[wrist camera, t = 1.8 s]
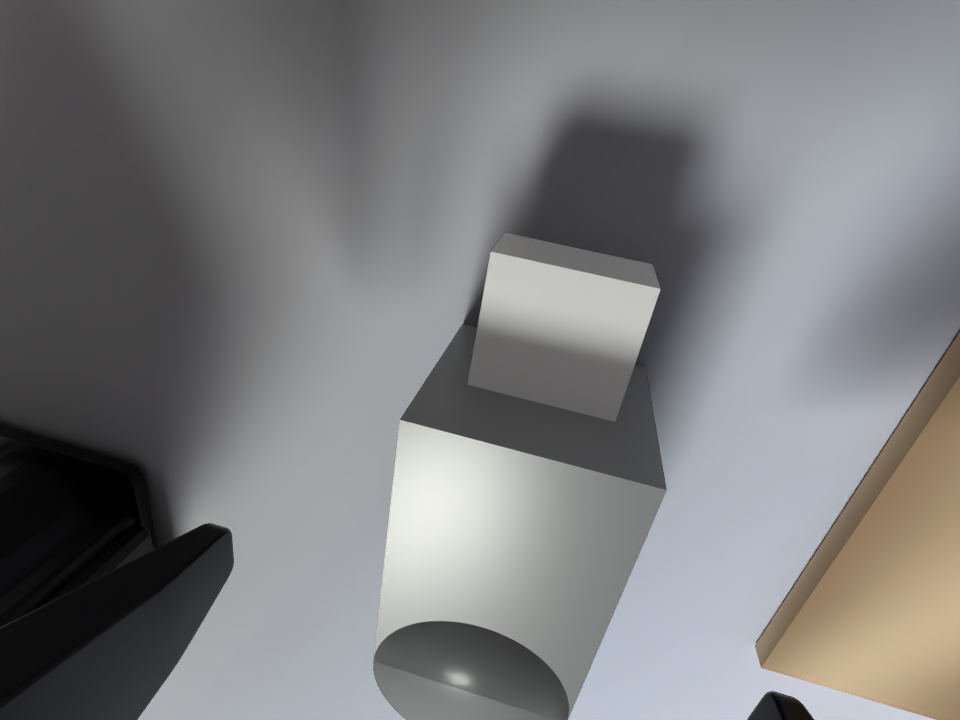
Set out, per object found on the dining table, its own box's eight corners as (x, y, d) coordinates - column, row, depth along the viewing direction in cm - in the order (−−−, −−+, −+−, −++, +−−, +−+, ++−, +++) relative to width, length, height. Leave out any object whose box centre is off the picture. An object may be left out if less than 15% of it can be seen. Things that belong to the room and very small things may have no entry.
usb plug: (557, 614, 15) (544, 775, 11) (422, 573, 15) (367, 715, 11) (684, 257, 10) (731, 339, 6) (480, 213, 10) (416, 268, 7)
